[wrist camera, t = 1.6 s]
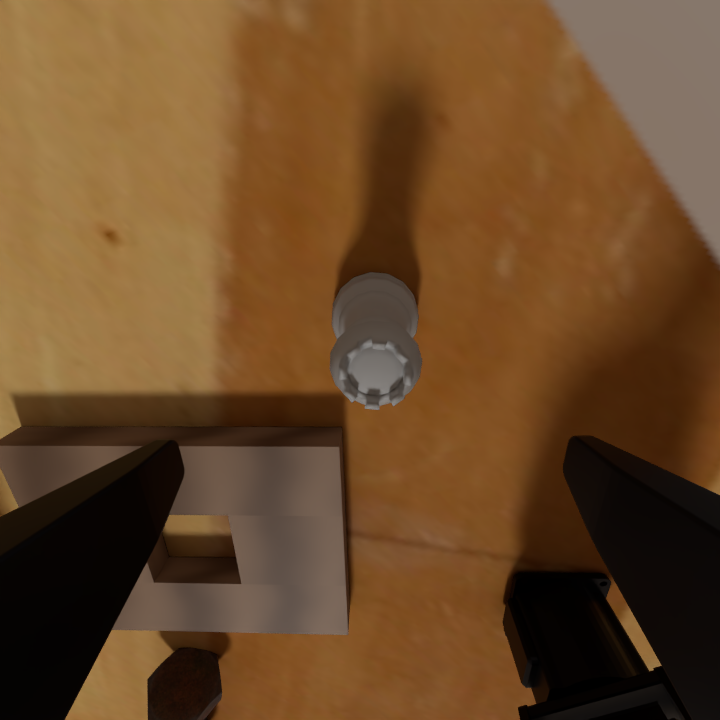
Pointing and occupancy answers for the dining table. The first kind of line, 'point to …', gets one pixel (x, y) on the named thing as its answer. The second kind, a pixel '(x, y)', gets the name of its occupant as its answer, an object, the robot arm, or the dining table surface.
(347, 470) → the dining table surface
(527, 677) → the robot arm
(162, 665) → the bolt
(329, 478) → the socket board
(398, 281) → the rook chess piece
